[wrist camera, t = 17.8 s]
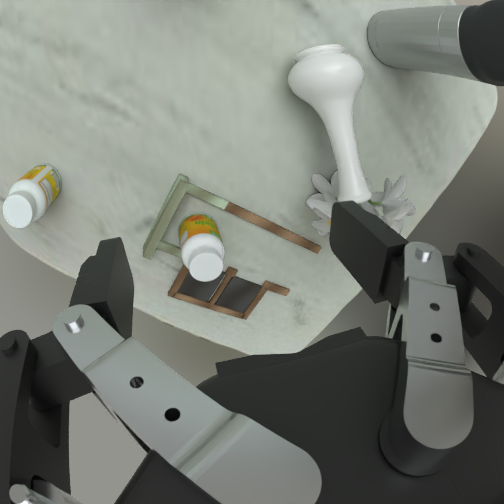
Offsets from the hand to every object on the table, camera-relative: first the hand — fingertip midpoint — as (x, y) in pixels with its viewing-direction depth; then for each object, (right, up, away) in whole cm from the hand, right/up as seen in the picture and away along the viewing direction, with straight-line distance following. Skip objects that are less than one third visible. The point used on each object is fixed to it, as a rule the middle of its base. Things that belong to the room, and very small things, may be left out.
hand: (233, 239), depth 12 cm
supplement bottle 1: (-27, +9, +23) cm, 37 cm away
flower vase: (+10, +15, +30) cm, 35 cm away
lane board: (-3, -2, +37) cm, 37 cm away
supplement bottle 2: (-7, +3, +33) cm, 34 cm away
